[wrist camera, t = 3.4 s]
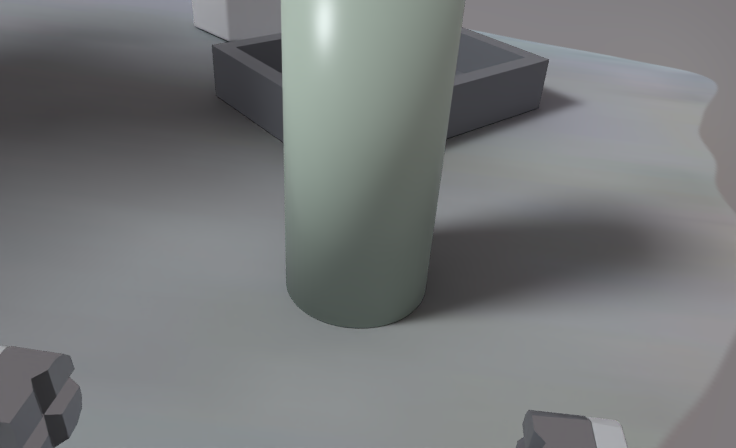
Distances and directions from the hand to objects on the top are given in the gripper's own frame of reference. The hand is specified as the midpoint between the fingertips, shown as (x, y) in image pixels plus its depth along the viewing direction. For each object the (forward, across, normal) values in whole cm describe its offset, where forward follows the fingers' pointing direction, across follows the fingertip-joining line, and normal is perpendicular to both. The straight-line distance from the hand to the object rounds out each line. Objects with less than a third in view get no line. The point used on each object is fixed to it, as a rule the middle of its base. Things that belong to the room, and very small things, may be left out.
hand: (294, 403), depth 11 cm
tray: (+30, -1, -6) cm, 30 cm away
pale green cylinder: (+12, 0, -6) cm, 13 cm away
